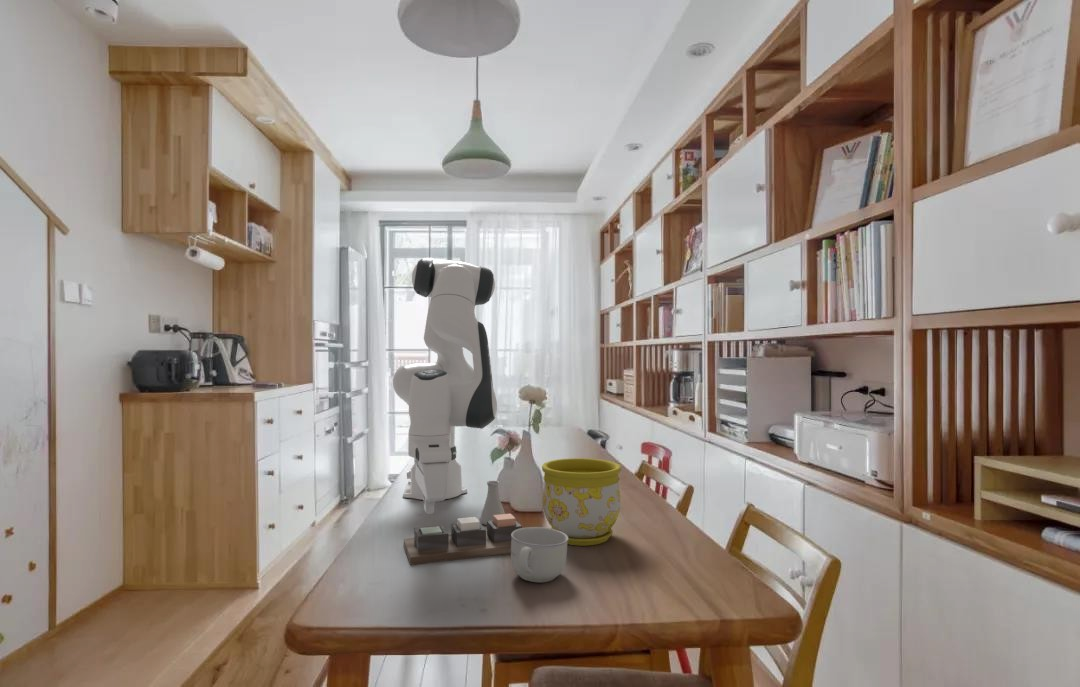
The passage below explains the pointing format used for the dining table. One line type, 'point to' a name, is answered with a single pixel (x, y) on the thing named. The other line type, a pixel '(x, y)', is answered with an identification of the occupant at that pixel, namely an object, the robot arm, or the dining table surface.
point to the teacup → (538, 553)
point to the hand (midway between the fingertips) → (428, 512)
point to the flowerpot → (582, 498)
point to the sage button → (430, 530)
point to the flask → (491, 503)
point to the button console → (459, 543)
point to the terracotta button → (504, 520)
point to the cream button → (468, 524)
